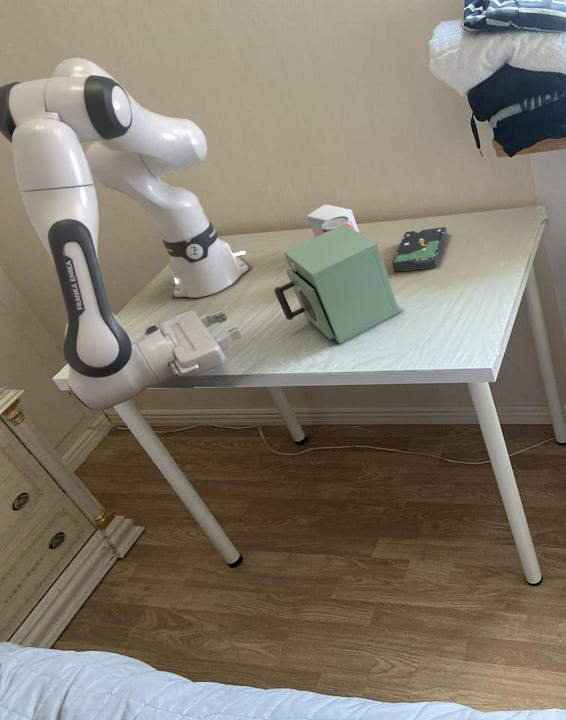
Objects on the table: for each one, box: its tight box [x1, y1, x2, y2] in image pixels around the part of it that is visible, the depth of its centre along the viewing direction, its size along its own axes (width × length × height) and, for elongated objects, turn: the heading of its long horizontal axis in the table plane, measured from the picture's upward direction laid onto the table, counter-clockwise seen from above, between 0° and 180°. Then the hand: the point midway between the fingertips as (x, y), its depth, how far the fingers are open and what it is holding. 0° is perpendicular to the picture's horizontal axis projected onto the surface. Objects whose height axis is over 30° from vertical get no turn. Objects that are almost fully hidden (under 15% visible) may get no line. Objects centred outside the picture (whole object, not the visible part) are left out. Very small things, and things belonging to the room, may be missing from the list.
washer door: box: [274, 268, 334, 340], centre depth 139 cm, size 5×13×11 cm, turn 34°
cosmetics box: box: [306, 203, 360, 238], centre depth 170 cm, size 10×6×10 cm, turn 50°
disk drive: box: [391, 226, 449, 272], centre depth 161 cm, size 10×3×15 cm
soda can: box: [322, 216, 355, 234], centre depth 158 cm, size 7×7×13 cm
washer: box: [283, 224, 400, 344], centre depth 142 cm, size 14×15×16 cm
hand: (231, 323), depth 137 cm, fingers open, 8 cm apart
